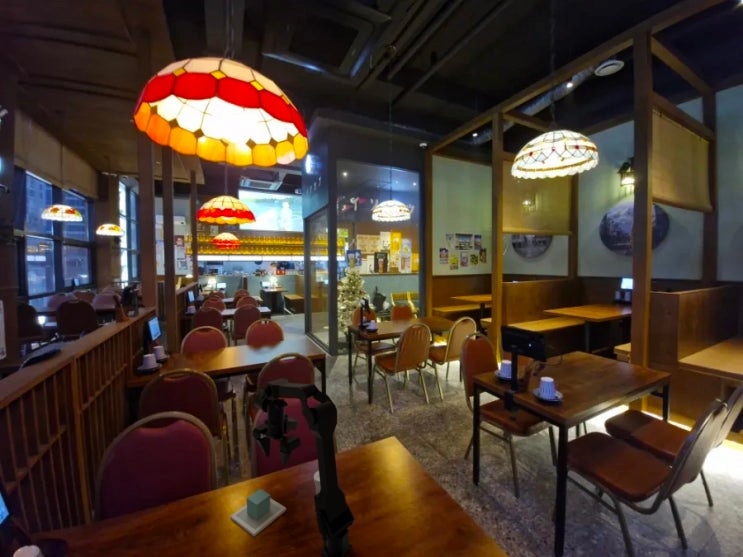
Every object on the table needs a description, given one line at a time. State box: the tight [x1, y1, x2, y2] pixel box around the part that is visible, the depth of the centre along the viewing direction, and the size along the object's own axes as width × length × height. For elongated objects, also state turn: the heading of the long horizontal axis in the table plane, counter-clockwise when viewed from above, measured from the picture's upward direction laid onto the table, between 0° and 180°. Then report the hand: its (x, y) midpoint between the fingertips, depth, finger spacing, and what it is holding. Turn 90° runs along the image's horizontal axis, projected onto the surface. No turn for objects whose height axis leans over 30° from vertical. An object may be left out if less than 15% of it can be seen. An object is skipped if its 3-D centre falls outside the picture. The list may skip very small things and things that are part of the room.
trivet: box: [229, 497, 287, 537], centre depth 100 cm, size 12×12×1 cm
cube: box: [246, 488, 271, 520], centre depth 100 cm, size 5×5×5 cm
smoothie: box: [313, 470, 321, 495], centre depth 105 cm, size 6×6×14 cm
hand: (276, 461), depth 108 cm, fingers open, 9 cm apart
